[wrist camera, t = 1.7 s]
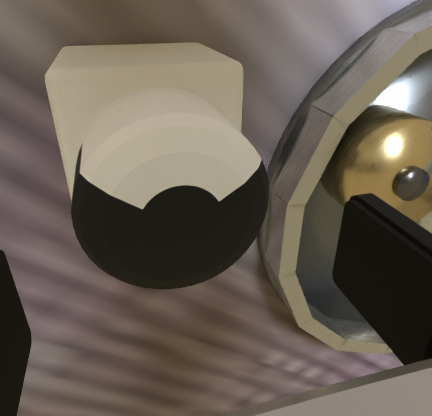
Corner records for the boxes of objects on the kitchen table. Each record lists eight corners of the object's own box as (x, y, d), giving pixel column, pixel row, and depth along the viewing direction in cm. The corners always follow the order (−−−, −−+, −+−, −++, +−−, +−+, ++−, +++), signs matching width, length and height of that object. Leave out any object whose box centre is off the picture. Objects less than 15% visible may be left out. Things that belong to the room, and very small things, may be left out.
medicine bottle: (203, 165, 23) (284, 294, 13) (84, 178, 22) (74, 336, 12) (201, 41, 20) (309, 89, 10) (58, 45, 18) (12, 109, 8)
